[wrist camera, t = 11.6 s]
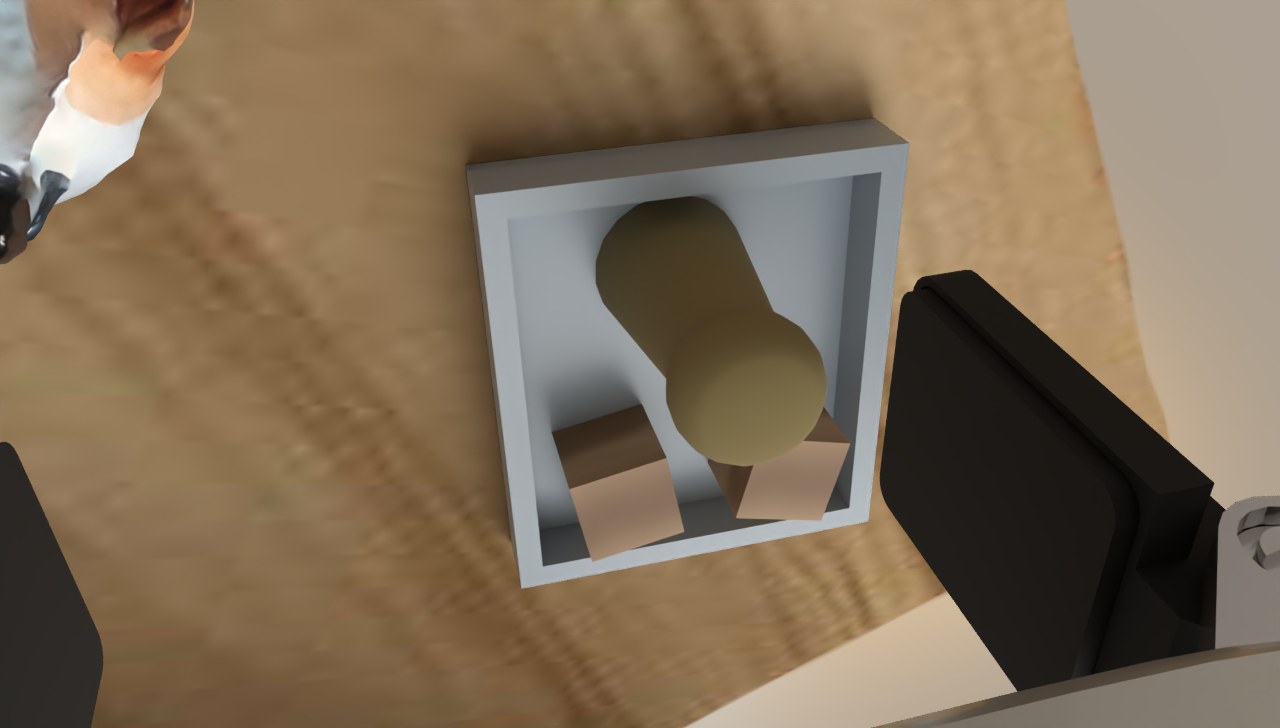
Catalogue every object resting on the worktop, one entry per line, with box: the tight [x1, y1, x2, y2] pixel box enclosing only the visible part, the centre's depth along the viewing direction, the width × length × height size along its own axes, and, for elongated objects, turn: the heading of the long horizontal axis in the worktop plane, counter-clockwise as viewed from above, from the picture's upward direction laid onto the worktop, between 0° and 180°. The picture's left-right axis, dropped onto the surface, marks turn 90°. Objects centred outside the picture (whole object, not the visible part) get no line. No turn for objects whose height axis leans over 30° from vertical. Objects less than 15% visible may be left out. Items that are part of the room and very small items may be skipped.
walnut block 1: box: [552, 404, 684, 562], centre depth 44 cm, size 4×4×4 cm
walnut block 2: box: [708, 407, 850, 521], centre depth 45 cm, size 4×4×4 cm
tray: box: [465, 118, 909, 588], centre depth 43 cm, size 18×16×3 cm
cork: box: [596, 196, 827, 466], centre depth 37 cm, size 6×6×11 cm
